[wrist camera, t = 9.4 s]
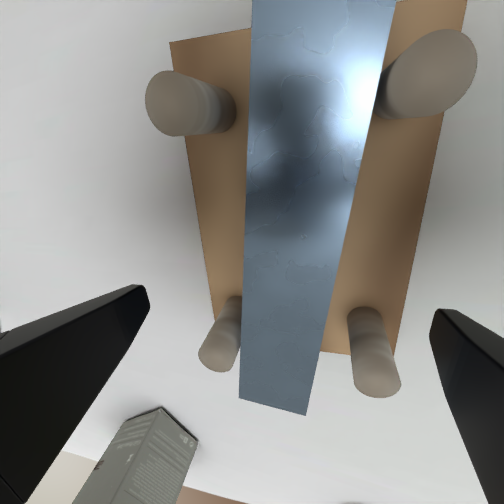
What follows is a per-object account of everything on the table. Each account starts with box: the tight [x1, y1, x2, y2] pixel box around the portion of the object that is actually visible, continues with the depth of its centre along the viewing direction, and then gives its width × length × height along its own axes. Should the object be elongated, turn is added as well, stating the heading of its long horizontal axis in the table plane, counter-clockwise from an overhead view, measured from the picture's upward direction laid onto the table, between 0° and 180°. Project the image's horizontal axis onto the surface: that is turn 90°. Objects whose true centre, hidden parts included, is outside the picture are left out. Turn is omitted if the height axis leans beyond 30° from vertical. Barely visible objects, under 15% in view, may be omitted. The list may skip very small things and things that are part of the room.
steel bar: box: [239, 0, 396, 416], centre depth 13 cm, size 20×4×4 cm, turn 177°
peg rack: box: [145, 0, 477, 398], centre depth 13 cm, size 12×18×6 cm, turn 4°
